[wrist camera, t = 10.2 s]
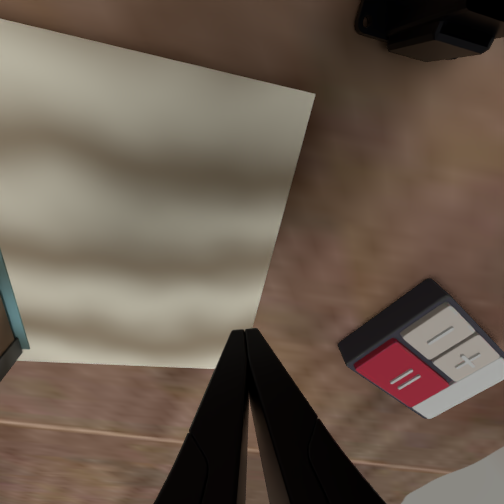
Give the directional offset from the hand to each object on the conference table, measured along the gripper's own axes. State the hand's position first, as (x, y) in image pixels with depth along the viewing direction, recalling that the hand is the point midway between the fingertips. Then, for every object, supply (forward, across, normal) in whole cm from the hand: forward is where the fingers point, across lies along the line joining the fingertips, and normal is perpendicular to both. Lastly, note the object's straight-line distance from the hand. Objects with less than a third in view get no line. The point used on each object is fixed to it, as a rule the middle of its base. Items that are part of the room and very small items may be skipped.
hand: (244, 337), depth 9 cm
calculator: (+13, -19, +17) cm, 28 cm away
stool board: (+12, +9, +2) cm, 15 cm away
